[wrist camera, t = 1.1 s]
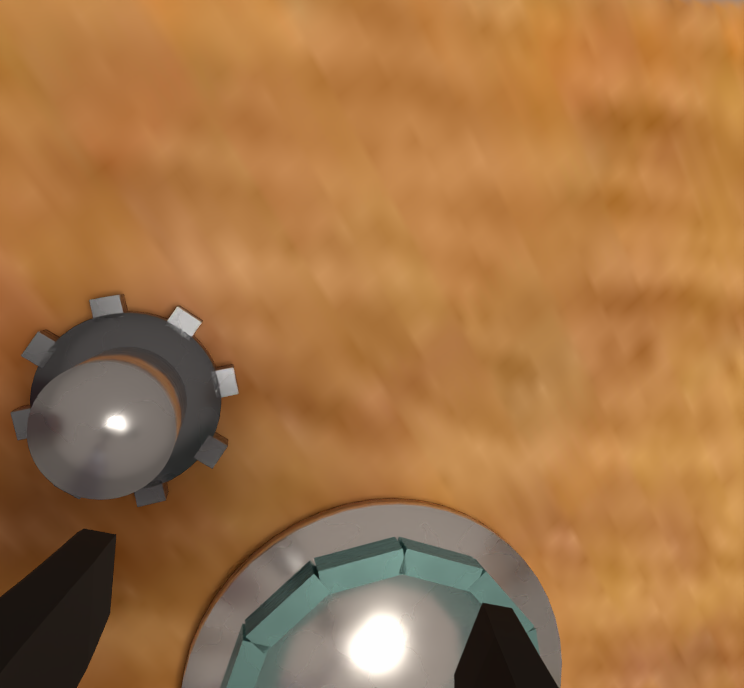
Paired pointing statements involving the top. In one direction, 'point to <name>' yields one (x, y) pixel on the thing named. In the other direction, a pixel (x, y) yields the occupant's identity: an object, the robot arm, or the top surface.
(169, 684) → the top surface
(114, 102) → the top surface
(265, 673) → the plate
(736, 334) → the top surface
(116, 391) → the gear
